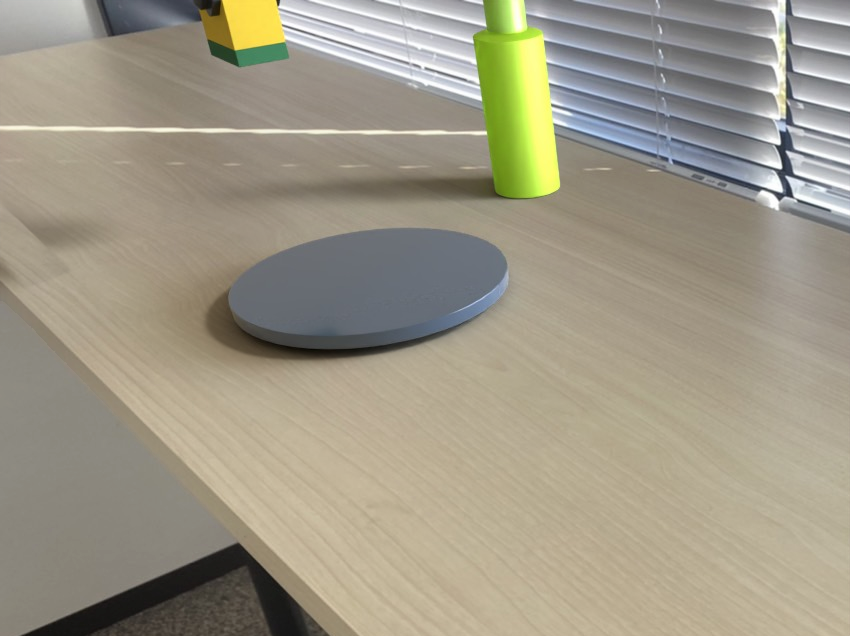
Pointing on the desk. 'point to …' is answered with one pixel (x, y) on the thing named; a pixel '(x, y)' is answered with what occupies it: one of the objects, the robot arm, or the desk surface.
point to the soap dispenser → (516, 102)
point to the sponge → (246, 32)
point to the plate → (369, 288)
